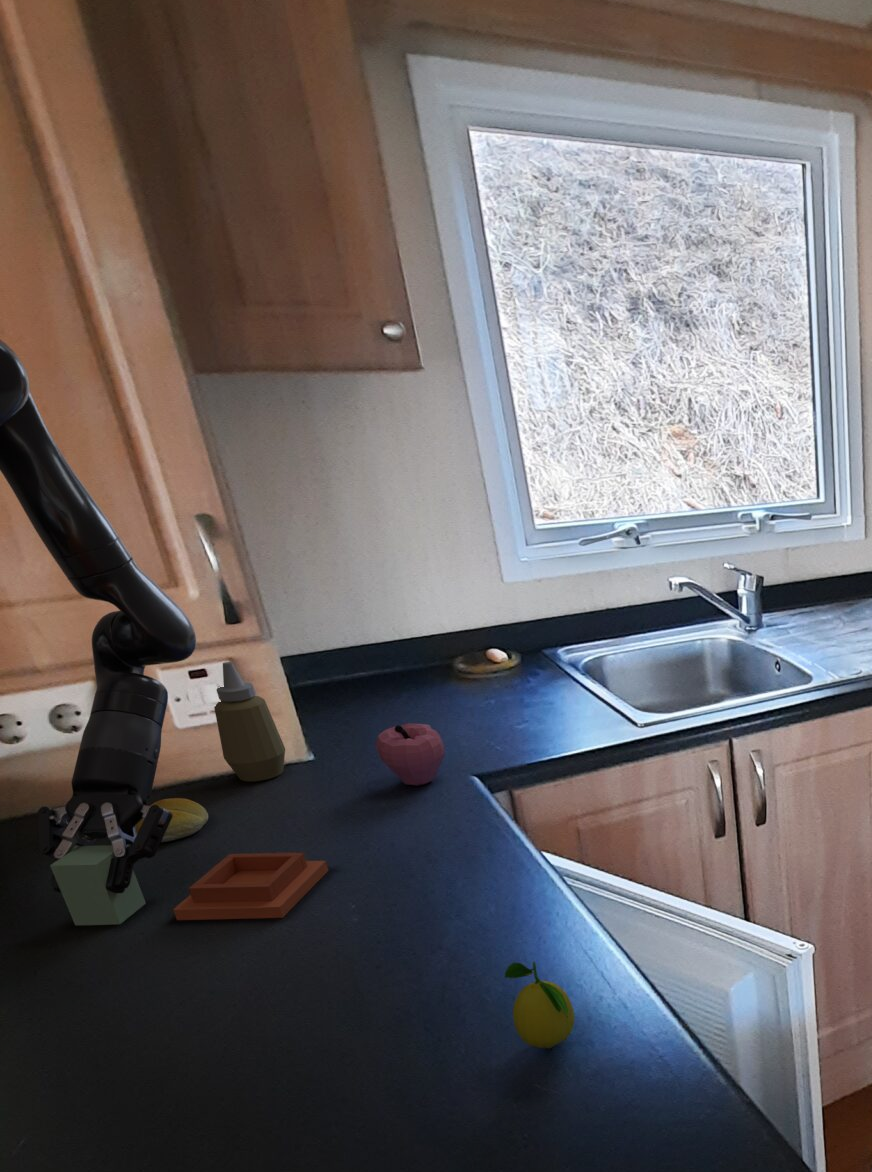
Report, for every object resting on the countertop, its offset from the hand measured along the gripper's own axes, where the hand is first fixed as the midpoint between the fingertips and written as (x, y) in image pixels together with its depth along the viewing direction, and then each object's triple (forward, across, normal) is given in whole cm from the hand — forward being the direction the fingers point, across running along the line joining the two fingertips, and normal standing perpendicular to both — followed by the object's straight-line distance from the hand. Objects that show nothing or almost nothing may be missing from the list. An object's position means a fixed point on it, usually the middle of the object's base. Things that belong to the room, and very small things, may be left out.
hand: (89, 891), depth 121 cm
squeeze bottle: (-29, -4, +35) cm, 45 cm away
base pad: (-1, +14, +7) cm, 16 cm away
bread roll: (-15, -6, +21) cm, 26 cm away
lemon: (+22, +58, -16) cm, 64 cm away
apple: (-26, +21, +32) cm, 46 cm away
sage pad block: (+2, 0, +4) cm, 5 cm away
